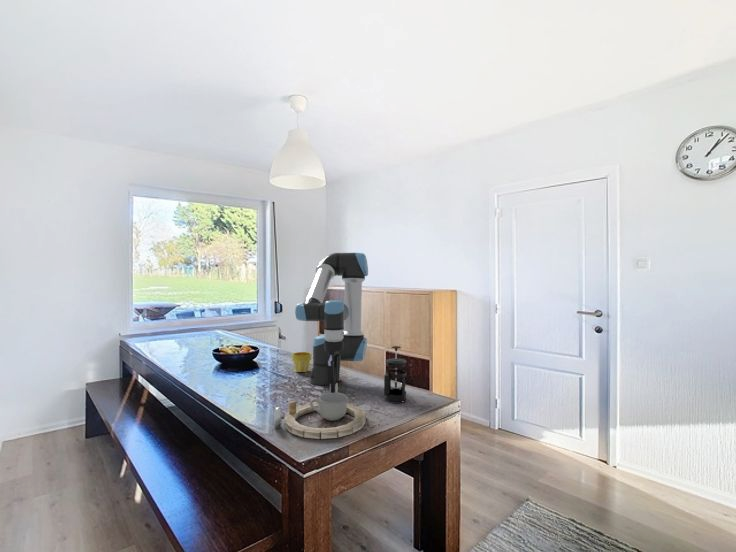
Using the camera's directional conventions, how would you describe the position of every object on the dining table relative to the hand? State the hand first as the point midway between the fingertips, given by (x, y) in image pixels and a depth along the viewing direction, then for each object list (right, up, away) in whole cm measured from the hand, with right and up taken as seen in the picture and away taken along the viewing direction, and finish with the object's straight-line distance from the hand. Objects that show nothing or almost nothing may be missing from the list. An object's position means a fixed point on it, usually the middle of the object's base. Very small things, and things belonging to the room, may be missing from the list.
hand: (333, 399), depth 148 cm
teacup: (-1, -5, -6) cm, 8 cm away
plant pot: (-23, -4, +59) cm, 64 cm away
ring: (-2, -5, -10) cm, 11 cm away
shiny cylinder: (-18, -5, -16) cm, 24 cm away
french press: (+25, -5, +14) cm, 29 cm away
